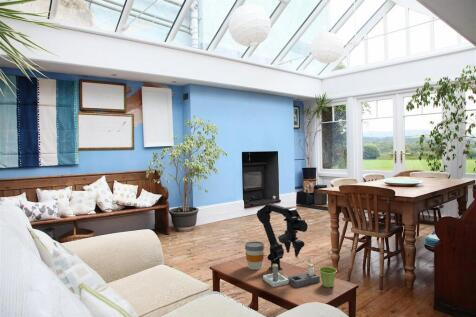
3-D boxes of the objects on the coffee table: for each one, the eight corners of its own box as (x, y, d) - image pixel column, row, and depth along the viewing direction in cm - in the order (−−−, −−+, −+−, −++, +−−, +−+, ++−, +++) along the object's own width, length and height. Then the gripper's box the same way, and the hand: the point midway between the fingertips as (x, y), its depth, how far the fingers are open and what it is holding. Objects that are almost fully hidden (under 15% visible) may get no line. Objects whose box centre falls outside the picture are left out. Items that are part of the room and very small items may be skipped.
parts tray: (263, 279, 182) (262, 275, 182) (277, 276, 186) (277, 272, 186) (273, 287, 171) (273, 283, 171) (288, 283, 175) (288, 279, 175)
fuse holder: (288, 281, 178) (288, 276, 178) (311, 276, 184) (311, 271, 184) (296, 287, 170) (296, 281, 170) (319, 281, 177) (319, 276, 177)
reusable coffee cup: (243, 265, 207) (242, 242, 207) (260, 262, 211) (259, 240, 210) (249, 271, 195) (248, 248, 195) (267, 268, 199) (267, 245, 198)
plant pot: (338, 283, 173) (338, 268, 173) (334, 290, 165) (334, 274, 165) (322, 280, 178) (321, 265, 178) (317, 287, 170) (317, 271, 170)
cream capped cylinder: (271, 279, 180) (271, 264, 180) (276, 278, 181) (276, 263, 181) (274, 281, 177) (274, 266, 177) (279, 280, 178) (278, 265, 178)
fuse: (307, 279, 180) (306, 264, 180) (311, 278, 181) (311, 263, 181) (310, 281, 177) (310, 266, 177) (315, 280, 178) (314, 265, 178)
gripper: (272, 227, 192) (272, 252, 192) (288, 234, 175) (288, 261, 175) (287, 225, 196) (288, 249, 197) (304, 231, 179) (305, 258, 179)
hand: (292, 254), depth 187 cm, fingers open, 9 cm apart
